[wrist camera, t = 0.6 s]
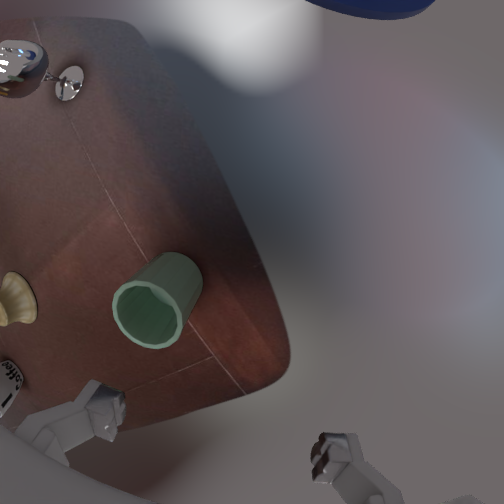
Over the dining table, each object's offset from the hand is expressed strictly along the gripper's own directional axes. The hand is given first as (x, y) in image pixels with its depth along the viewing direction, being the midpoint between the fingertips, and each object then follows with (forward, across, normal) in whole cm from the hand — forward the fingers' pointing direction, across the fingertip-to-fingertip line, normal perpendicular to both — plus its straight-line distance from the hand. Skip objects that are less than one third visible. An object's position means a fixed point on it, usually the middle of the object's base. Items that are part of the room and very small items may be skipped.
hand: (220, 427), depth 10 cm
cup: (+20, +40, +32) cm, 55 cm away
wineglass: (+20, +25, -16) cm, 36 cm away
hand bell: (+20, +32, +13) cm, 40 cm away
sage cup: (+20, +8, +3) cm, 22 cm away
